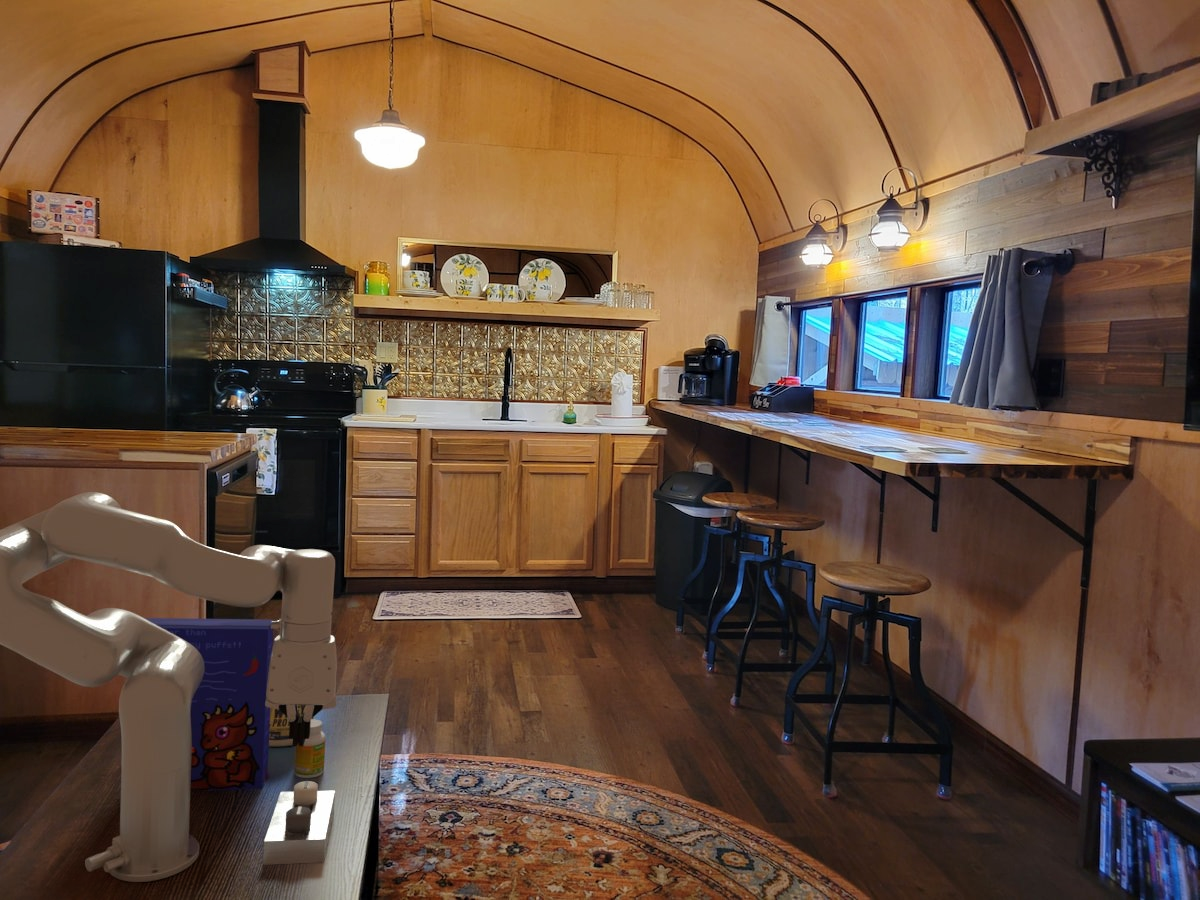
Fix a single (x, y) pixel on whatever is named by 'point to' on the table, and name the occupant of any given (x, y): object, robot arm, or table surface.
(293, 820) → the charcoal knob
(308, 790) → the cream knob
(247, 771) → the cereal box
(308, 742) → the supplement bottle
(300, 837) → the mount
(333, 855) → the table surface
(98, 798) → the table surface
